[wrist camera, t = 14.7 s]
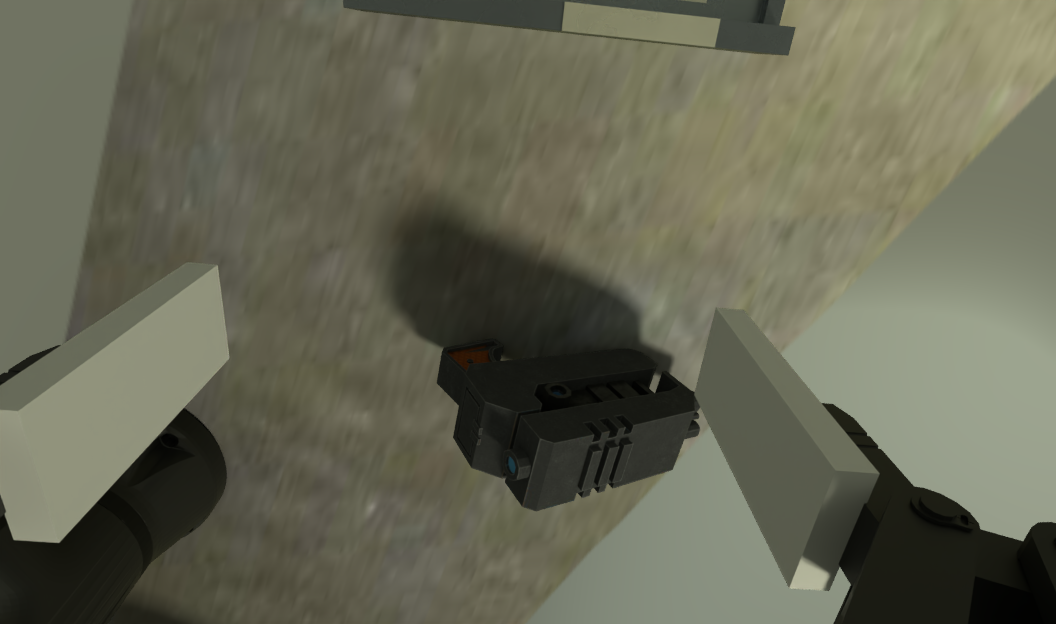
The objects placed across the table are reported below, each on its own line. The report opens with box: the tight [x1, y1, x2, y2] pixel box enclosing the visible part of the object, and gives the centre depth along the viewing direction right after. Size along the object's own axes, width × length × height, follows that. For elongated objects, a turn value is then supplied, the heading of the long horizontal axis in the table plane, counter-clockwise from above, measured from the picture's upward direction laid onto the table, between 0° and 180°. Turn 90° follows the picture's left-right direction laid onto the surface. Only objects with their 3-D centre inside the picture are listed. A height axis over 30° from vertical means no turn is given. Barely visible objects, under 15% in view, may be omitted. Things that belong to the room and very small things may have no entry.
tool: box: [437, 339, 700, 511], centre depth 45 cm, size 6×19×15 cm
